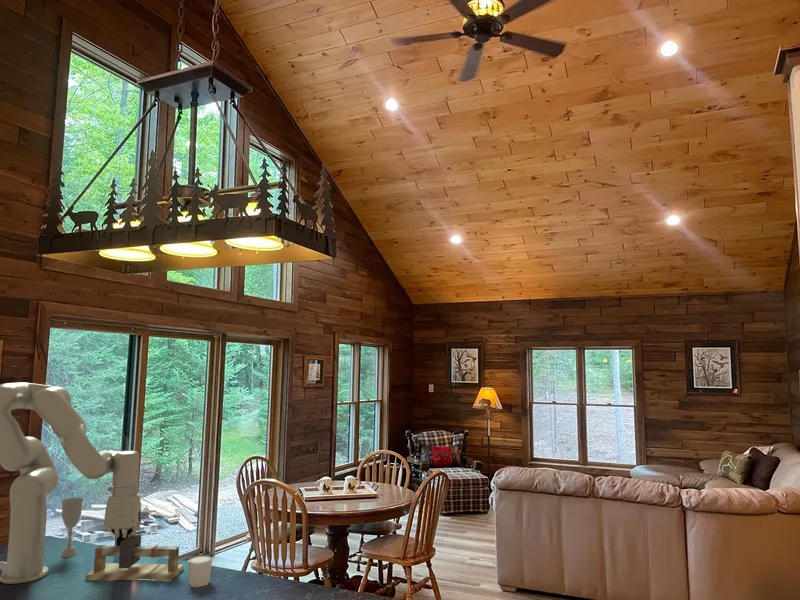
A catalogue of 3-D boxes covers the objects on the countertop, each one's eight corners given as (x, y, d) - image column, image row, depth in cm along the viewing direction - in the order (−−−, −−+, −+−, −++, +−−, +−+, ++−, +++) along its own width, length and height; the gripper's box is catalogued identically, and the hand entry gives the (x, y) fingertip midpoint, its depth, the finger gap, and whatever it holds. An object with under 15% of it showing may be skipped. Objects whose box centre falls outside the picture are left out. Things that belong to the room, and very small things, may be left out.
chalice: (63, 551, 199) (67, 497, 201) (83, 550, 200) (87, 497, 201) (52, 558, 192) (56, 503, 193) (74, 557, 192) (78, 502, 194)
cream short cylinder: (203, 588, 168) (204, 564, 169) (182, 586, 170) (183, 562, 170) (215, 580, 175) (216, 556, 176) (195, 578, 176) (196, 554, 177)
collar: (118, 568, 175) (120, 542, 176) (130, 559, 183) (131, 534, 183) (128, 568, 175) (130, 542, 176) (139, 559, 183) (141, 534, 183)
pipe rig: (85, 580, 174) (87, 551, 174) (102, 568, 184) (104, 540, 184) (170, 581, 173) (172, 552, 174) (183, 569, 183) (184, 542, 184)
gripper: (95, 493, 181) (92, 553, 179) (142, 493, 180) (140, 553, 179) (107, 487, 188) (104, 545, 186) (153, 488, 188) (150, 546, 186)
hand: (121, 549), depth 182 cm, fingers closed
